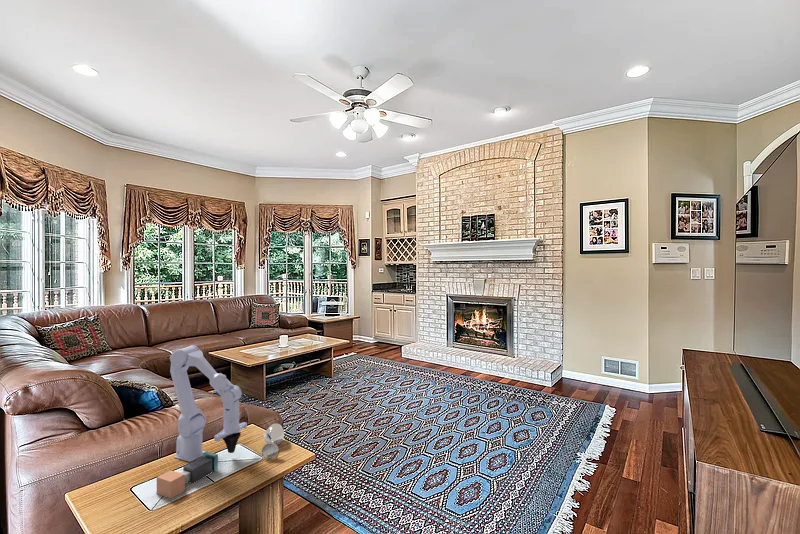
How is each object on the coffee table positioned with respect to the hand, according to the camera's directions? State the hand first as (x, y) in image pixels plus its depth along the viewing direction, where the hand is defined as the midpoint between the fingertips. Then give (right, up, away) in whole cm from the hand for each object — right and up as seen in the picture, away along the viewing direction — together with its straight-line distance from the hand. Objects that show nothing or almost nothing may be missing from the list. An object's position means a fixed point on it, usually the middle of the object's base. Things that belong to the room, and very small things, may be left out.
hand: (231, 452), depth 152 cm
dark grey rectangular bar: (-6, -2, -14) cm, 15 cm away
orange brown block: (-10, -2, -23) cm, 26 cm away
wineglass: (+16, +1, -1) cm, 16 cm away
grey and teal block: (-7, -2, -16) cm, 17 cm away
